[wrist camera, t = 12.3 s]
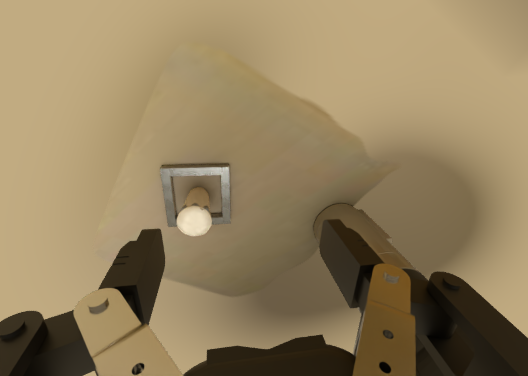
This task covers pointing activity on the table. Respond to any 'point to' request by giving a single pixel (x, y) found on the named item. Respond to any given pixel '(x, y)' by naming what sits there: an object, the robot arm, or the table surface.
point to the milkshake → (195, 213)
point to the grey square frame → (195, 170)
